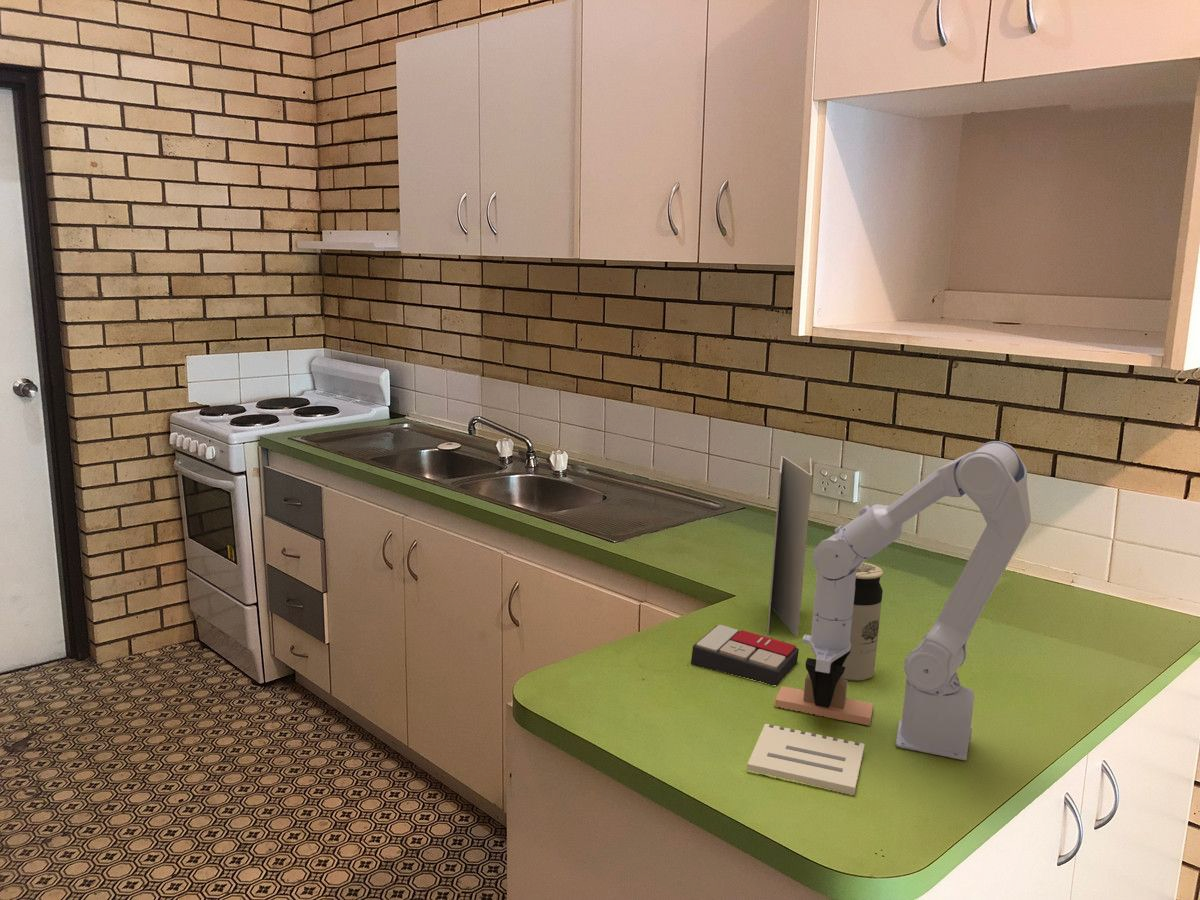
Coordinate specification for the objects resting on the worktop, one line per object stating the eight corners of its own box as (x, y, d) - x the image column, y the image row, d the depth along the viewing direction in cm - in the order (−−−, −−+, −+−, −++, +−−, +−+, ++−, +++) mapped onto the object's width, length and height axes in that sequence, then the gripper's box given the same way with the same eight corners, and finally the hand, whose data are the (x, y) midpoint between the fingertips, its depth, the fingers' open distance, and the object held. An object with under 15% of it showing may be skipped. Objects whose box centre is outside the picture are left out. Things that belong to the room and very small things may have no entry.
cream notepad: (863, 751, 136) (864, 743, 136) (854, 796, 125) (855, 786, 125) (764, 731, 141) (765, 723, 141) (746, 772, 130) (747, 763, 130)
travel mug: (815, 664, 164) (824, 562, 160) (855, 658, 167) (865, 558, 163) (842, 684, 157) (852, 578, 153) (883, 678, 160) (895, 574, 156)
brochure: (798, 637, 175) (811, 475, 168) (766, 634, 176) (779, 472, 170) (798, 609, 189) (811, 457, 182) (769, 606, 190) (781, 455, 183)
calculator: (778, 667, 155) (692, 641, 162) (775, 692, 156) (689, 665, 163) (800, 644, 164) (717, 620, 171) (797, 667, 165) (715, 643, 172)
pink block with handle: (872, 710, 148) (875, 681, 147) (869, 725, 144) (872, 695, 143) (780, 693, 153) (783, 664, 152) (774, 706, 148) (777, 677, 147)
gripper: (813, 593, 153) (805, 673, 156) (797, 626, 140) (790, 713, 143) (859, 600, 151) (850, 682, 154) (847, 634, 137) (839, 723, 140)
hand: (824, 697), depth 148 cm, fingers open, 5 cm apart
